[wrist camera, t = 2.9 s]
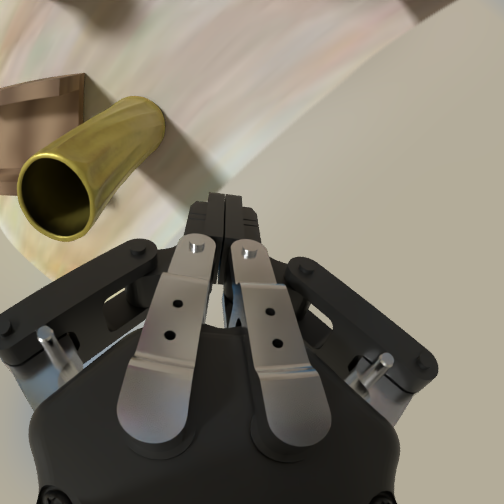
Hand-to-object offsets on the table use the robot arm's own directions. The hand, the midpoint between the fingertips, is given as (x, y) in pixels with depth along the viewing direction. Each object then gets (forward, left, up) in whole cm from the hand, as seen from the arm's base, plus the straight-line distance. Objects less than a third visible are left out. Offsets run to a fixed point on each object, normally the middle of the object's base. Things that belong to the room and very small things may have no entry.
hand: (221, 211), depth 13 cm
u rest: (+21, 0, -14) cm, 25 cm away
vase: (+9, 0, -14) cm, 16 cm away
